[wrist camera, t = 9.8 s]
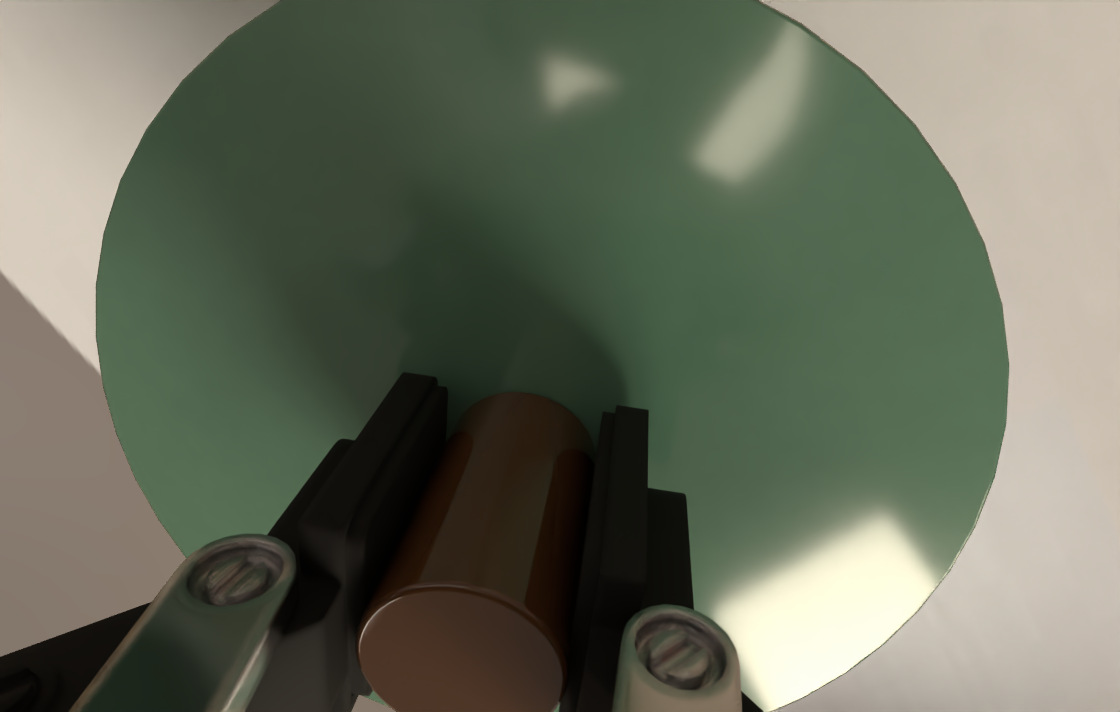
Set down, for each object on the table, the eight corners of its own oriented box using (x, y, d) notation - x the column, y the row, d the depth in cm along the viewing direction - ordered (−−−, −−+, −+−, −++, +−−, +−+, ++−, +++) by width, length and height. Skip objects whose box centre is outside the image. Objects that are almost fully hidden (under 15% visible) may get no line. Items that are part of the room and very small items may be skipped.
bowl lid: (55, -113, 10) (-521, -236, 5) (1163, 17, 9) (1757, 20, 4) (191, 640, 17) (3, 896, 12) (831, 756, 16) (910, 1086, 11)
